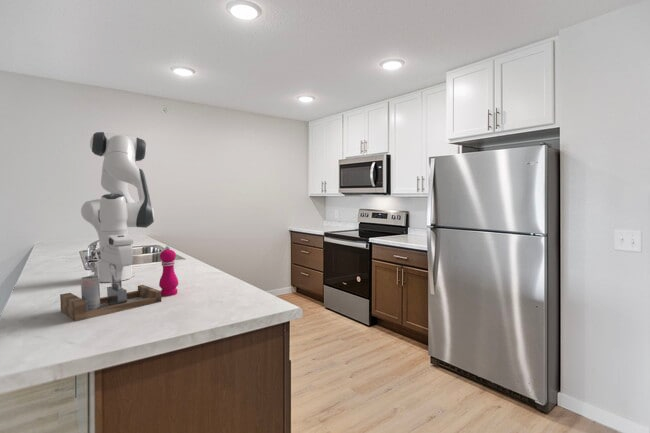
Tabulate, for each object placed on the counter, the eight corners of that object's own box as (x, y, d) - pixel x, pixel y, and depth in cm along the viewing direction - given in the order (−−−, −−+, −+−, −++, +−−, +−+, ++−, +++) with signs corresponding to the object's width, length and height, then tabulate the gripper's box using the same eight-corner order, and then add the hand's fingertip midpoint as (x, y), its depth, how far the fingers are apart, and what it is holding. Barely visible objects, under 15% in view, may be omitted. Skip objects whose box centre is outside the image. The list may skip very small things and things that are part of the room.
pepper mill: (171, 296, 143) (170, 247, 142) (155, 296, 145) (153, 246, 144) (182, 292, 150) (180, 244, 149) (166, 291, 152) (165, 244, 151)
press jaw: (107, 303, 135) (105, 263, 134) (116, 301, 137) (115, 262, 136) (117, 308, 128) (116, 266, 127) (127, 306, 131) (125, 265, 130)
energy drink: (98, 307, 130) (96, 274, 129) (102, 310, 126) (100, 277, 126) (80, 311, 126) (79, 277, 126) (84, 314, 123) (82, 279, 122)
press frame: (60, 311, 126) (60, 294, 126) (143, 294, 147) (142, 279, 147) (75, 321, 116) (74, 303, 115) (161, 301, 137) (160, 286, 137)
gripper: (94, 237, 135) (96, 273, 136) (116, 241, 122) (117, 281, 123) (112, 235, 140) (114, 270, 141) (135, 239, 127) (136, 278, 128)
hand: (116, 275), depth 132 cm, fingers closed on press jaw, 3 cm apart
